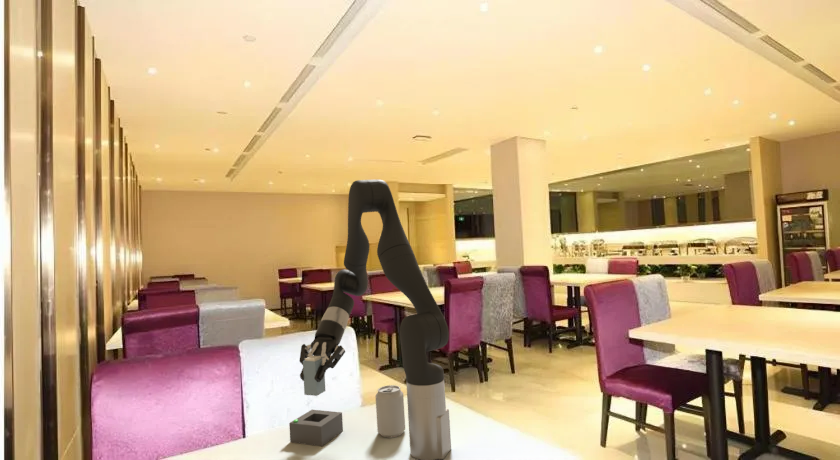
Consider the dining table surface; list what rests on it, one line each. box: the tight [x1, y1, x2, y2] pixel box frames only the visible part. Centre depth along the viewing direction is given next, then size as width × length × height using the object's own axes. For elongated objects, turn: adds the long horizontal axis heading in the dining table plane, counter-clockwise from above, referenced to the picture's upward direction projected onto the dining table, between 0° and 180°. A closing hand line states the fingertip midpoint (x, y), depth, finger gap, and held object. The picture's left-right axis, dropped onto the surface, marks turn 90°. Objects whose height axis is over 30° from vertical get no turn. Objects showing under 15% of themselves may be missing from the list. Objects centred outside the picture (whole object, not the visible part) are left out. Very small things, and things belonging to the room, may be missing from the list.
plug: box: [302, 355, 326, 397], centre depth 124 cm, size 4×4×10 cm
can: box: [375, 384, 406, 439], centre depth 123 cm, size 8×8×12 cm
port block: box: [289, 409, 344, 447], centre depth 123 cm, size 10×10×5 cm
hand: (310, 379), depth 122 cm, fingers closed on plug, 4 cm apart
